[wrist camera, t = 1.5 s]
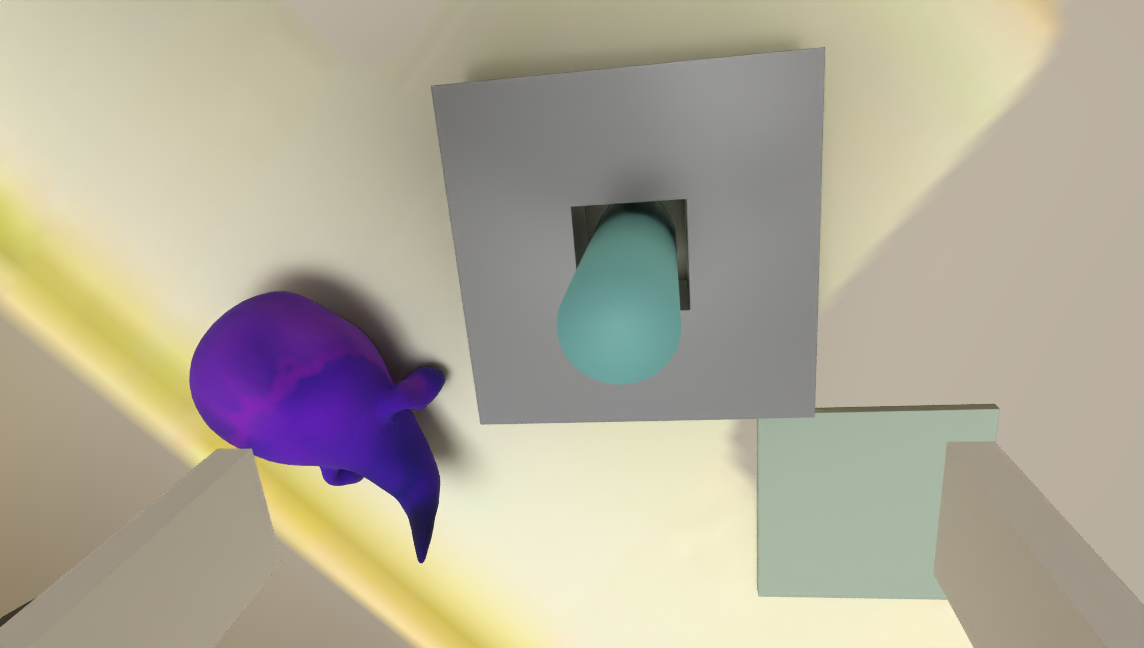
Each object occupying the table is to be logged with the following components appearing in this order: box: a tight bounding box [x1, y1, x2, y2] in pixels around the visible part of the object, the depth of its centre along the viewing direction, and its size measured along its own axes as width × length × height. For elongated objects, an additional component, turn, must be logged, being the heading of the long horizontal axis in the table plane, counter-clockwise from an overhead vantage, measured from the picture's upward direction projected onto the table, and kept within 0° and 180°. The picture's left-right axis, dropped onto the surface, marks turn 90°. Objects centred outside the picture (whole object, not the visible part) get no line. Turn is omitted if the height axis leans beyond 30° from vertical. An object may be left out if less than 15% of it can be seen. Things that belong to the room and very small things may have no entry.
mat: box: [757, 404, 1000, 600], centre depth 38 cm, size 12×12×1 cm
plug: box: [557, 201, 681, 385], centre depth 29 cm, size 4×4×14 cm
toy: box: [189, 291, 445, 563], centre depth 36 cm, size 9×10×15 cm
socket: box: [431, 47, 825, 424], centre depth 33 cm, size 16×16×5 cm
